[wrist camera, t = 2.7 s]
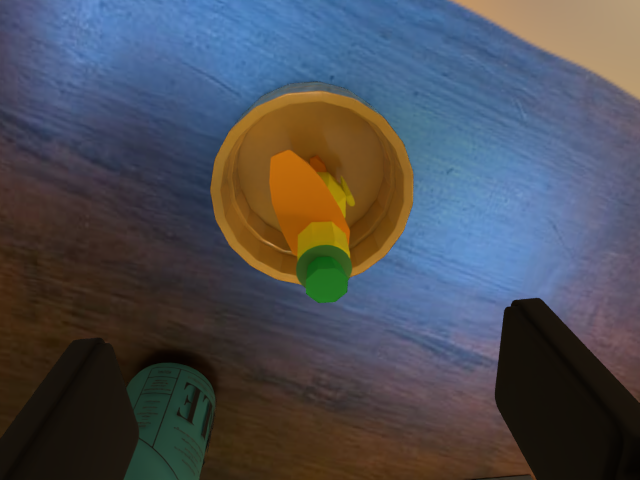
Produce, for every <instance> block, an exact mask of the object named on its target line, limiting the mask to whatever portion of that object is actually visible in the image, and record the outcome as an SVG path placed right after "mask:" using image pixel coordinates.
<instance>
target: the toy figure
mask: <svg viewBox="0 0 640 480" xmlns="http://www.w3.org/2000/svg"><path fill="white" fill-rule="evenodd" d="M340 179H341V184H340V183H339V182H338V181H337V180H336V179H335V178H334V177H333V176H332V175H331V174H329V173H328V172H327V169H326V166H325V164H324V162H323V161H322V160H321V159H320V158H319V156H318V155H316V156H314V157H311V158H310V165H309V163H308V162H307V161H305V160H304V159H302V158H301V157H300V156H298V155H297V154H295V153H294V152H293V151H291V150H290V149H289V150H284V151H280V152H278V153H277V154H276V155H274V156H273V157H271V162H270V179H269V184H270V191H271V199H272V204H273V207H274V210H275V213H276V216H277V219H278V222H279V224H280V227H281V230H282V233H283V235H284V237H285V239H286V241H287V243H288V245H289V247H290V249H291V251H292V253H293V254H294V255H296V256H297V258H298V262H297V265H296V276H297V278H298V280H299V282H300V283H301V285H303V286H304V287H305V288H306V294H307V295H308V296H310V297H311V298H312V299H314V300H315V301H316V302H318V303H326V302H336V301H337V300H338V299H339V298H340V297H342V296H343V295H344V294H345V293H346V292H347V286H348V280H349V278H350V276H351V273H352V263H351V260H350V251H349V237H350V229H349V227H348V225H347V223H346V220H345V217H346V201H347V203H348V204H349V205H350V206H354V205H355V201H354V198H353V196H352V194H351V192H350V190H349V188H348V186H347V183H346V182H345V180H344V178H343V177H342V176H341V177H340Z"/></svg>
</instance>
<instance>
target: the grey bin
mask: <svg viewBox="0 0 640 480" xmlns="http://www.w3.org/2000/svg"><path fill="white" fill-rule="evenodd" d="M478 480H532V478H531V476H530V475H525V476H513V477H501V478H490V479H478Z"/></svg>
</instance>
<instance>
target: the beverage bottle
mask: <svg viewBox="0 0 640 480" xmlns="http://www.w3.org/2000/svg"><path fill="white" fill-rule="evenodd" d="M127 383H128V382H127ZM127 383H126V384H127ZM126 389H127V393H128V396H129V399H130V402H131V405H132V408H133V411H134V414H135V417H136V420H137V423H138V426H139V440H138V444H137V446H136V449H135V451H134V454H133V456H132V459H131V462H130V464H129V467H128V469H127V472H126V474H125V477H124V480H200V479H199V476H200V472H201V468H202V467H203V466H202V463H203V465H204V463H205V462H204V454H205V451H206V448H207V445H208V447H209V443H210V439H211V438H210V437H211V432H212V430H213V425H214V424H213V423H214V422H213V421H214V418H215V417H214V416H215V412H214V410H215V406H216V404H215V398H216V397H215V394H214V390H213V388H212V386H211V384H210V382H209V381H208V380H207V378H206V377H205V376H204V375H202V374H201V373H200V372H198V371H197V370H195V369H193V368H191V367H189V366H186V365H182V364H178V363H158V364H154V365H151V366H149V367H147V368H145V369H143V370H141V371H140V372H139V373H138V374H137V375H136V376H135V377H134V378H133V379H132V380H131V381H130V382H129V384H128V386H127V388H126ZM216 402H217V401H216ZM212 418H213V419H212ZM211 423H212V425H211ZM210 427H211V431H210ZM209 432H210V435H209ZM208 436H209V438H208ZM208 442H209V443H208ZM207 452H208V449H207Z"/></svg>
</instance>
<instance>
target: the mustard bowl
mask: <svg viewBox="0 0 640 480" xmlns="http://www.w3.org/2000/svg"><path fill="white" fill-rule="evenodd" d="M289 149H290V150H291V151H293V152H294V153H295V154H297V155H298V156H300V157H301V158H302V159H304V160H305V161H307V162H308V163H309V165H310V158H311V157H314V156H316V155H318V156H319V158H320V159H321V160H322V161H323V162H324V164H325V166H326V169H327V172H328V173H329V174H331V175H332V176H333V177H334V178H335V179H336V180H337V181H338V182H339V183H340V184H341V179H340V177H341V176H342V177H343V178H344V180H345V182H346V183H347V186H348V188H349V190H350V192H351V194H352V196H353V198H354V201H355V205H354V206H350V205H349V204H348V203H347V201H346V217H345V220H346V223H347V225H348V227H349V229H350V237H349V251H350V260H351V263H352V273H351V276H350V277H352V276H355V275H357V274H360V273H362V272H364V271H365V270H367V269H368V268H369V267H371V266H372V265H373V264H375V263H376V262H377V261H379V260H380V259H382V258H383V257H384V256H385V255H386V254H387V253H388V252H389V250H390V249H391V248H392V246H393V245H394V244H395V242H396V241H397V239H398V238H399V237H400V235H401V234H402V233H403V231H404V228H405V225H406V223H407V220H408V217H409V214H410V211H411V208H412V205H413V175H414V174H413V170H412V167H411V164H410V161H409V158H408V155H407V152H406V149H405V146H404V144H403V142H402V140H401V139H400V138H399V136H398V135H397V134H396V133H395V131H394V130H393V129H392V127H391V126H390V125H389V123H388V122H387V121H386V120H385V118H384V117H383V116H382V115H381V114H380V113H379V112H377V111H376V110H375V109H374V108H373V107H372V106H371V105H370V104H369V103H368V102H366V101H365V100H363V99H362V98H360V97H358V96H357V95H355V94H354V93H352V92H351V91H349V90H348V89H345V88H342V87H338V86H335V85H331V84H327V83H323V82H317V81H316V82H304V83H292V84H290V85H289V84H287V85H285V86H283V87H281V88H278V89H276V90H274V91H272V92H269V93H267V94H265V95H263V96H262V97H260V98H259V99H258V100H257V101H256V102H255V103H254V104H253V105H252V106H251V107H250V108H249V109H248V110H246V111H245V112H244V113H243V114H242V116H241V117H240V118H239V119H238V121H237V122H236V123H235V125H234V126H233V127H232V128H231V130H230V131H229V133H228V135H227V137H226V139H225V140H224V142H223V144H222V146H221V148H220V150H219V152H218V154H217V156H216V157H215V161H214V167H213V174H212V180H211V187H210V192H211V198H212V203H213V209H214V214H215V219H216V222H217V223H218V225H219V227H220V229H221V231H222V232H223V234H224V236H225V238H226V240H227V242H228V243H229V245H230V246H231V247H232V248H233V249H234V250H235V251H236V252H237V253H238V254H239V255H240V256H241V257H242V258H243V259H244V260H245V261H246V262H247V263H248V264H249V265H250V266H252V267H253V268H255V269H257V270H259V271H261V272H263V273H265V274H267V275H269V276H271V277H273V278H275V279H278V280H281V281H286V282H292V283H297V284H301V283H300V282H299V280H298V278H297V276H296V265H297V262H298V258H297V256H296V255H294V254H293V253H292V251H291V249H290V247H289V245H288V243H287V241H286V239H285V237H284V235H283V233H282V230H281V227H280V224H279V222H278V219H277V216H276V213H275V210H274V207H273V204H272V199H271V191H270V184H269V179H270V162H271V157H273V156H274V155H276V154H277V153H278V152H280V151H284V150H289Z"/></svg>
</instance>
